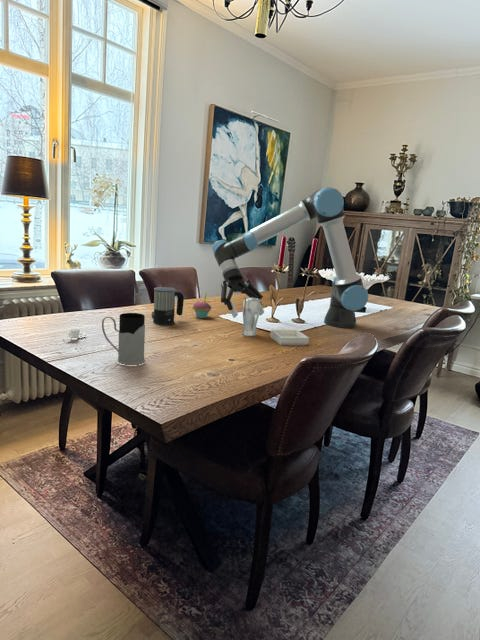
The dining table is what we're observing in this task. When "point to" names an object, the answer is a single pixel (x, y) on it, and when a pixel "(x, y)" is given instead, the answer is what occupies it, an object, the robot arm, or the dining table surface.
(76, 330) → the teacup and saucer
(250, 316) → the beer glass
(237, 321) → the dining table surface
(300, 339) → the cup holder
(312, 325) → the dining table surface
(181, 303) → the milk frother
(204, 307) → the cupcake
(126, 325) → the glass holder
